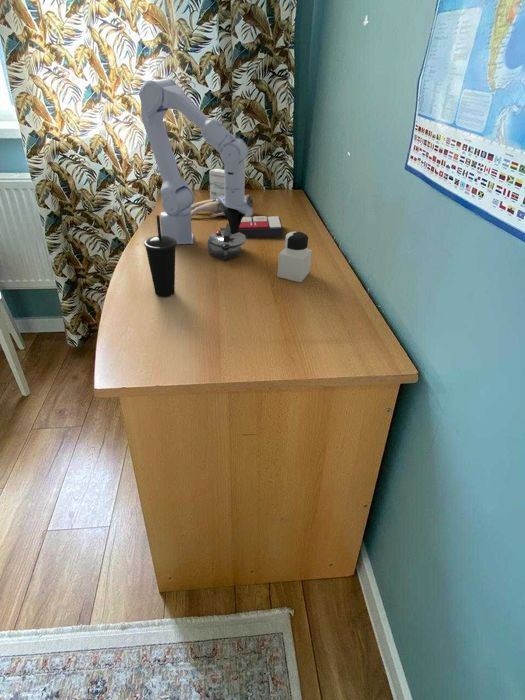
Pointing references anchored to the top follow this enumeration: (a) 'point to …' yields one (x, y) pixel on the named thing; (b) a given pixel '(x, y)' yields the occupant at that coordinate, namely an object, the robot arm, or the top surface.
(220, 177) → the ink box
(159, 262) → the drinking cup
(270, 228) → the calculator
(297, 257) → the medicine bottle
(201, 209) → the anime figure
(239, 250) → the pot
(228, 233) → the lid
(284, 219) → the top surface
